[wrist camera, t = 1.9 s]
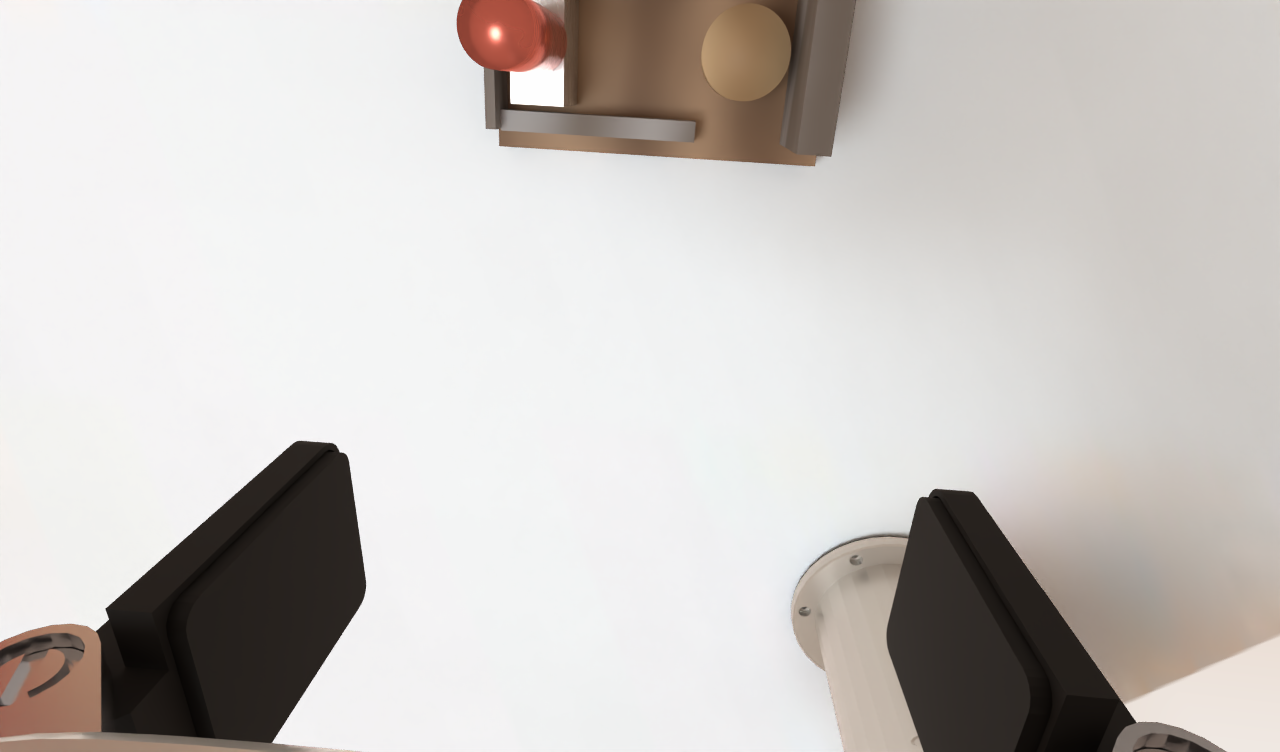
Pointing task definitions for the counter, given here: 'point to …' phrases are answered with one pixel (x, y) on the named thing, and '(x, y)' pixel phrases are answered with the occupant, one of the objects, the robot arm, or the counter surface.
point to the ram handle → (525, 46)
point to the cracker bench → (684, 87)
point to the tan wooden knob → (745, 52)
